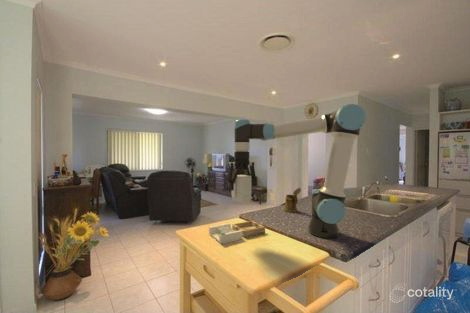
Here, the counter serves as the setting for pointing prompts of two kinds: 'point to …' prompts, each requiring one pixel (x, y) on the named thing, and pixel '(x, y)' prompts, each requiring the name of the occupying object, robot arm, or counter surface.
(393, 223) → the counter surface
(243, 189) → the supplement box
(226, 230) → the cradle platform
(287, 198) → the wooden mug
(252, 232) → the wooden trough
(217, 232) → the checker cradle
